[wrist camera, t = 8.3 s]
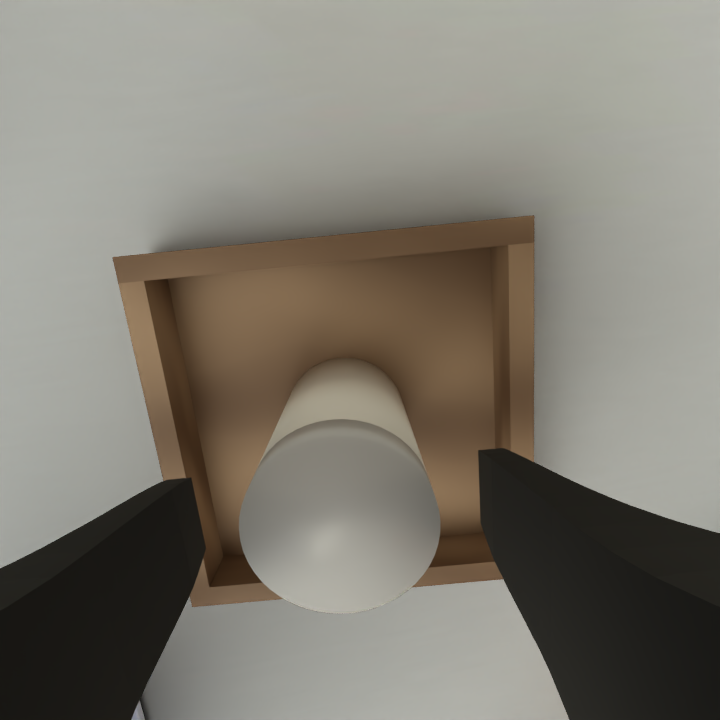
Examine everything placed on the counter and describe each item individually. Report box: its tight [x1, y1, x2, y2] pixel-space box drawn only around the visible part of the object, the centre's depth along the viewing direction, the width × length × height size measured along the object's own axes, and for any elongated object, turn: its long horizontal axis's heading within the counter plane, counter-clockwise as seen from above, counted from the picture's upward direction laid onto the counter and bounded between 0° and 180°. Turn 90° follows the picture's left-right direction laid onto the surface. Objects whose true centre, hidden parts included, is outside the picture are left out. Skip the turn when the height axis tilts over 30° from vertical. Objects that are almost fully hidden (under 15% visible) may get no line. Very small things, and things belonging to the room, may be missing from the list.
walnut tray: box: [113, 215, 534, 607], centre depth 15 cm, size 13×13×2 cm
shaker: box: [239, 358, 440, 614], centre depth 12 cm, size 4×4×7 cm
